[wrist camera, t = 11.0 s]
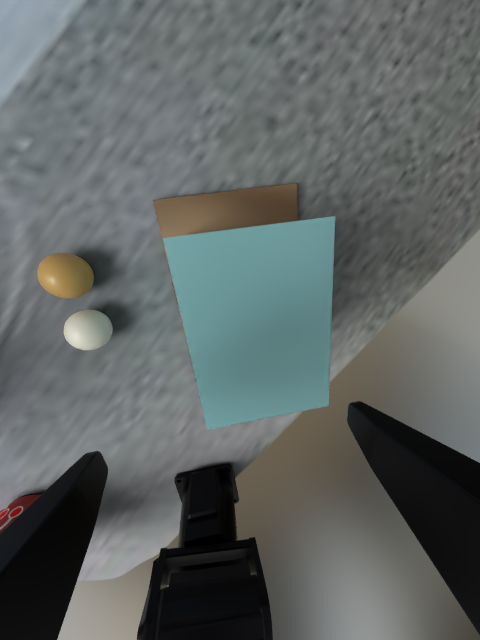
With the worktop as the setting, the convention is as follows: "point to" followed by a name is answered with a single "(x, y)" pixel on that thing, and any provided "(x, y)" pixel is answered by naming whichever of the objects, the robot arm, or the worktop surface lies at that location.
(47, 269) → the amber egg
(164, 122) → the worktop surface
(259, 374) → the light blue block
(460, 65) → the worktop surface
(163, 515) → the worktop surface
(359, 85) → the worktop surface
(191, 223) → the walnut board
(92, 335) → the white egg
